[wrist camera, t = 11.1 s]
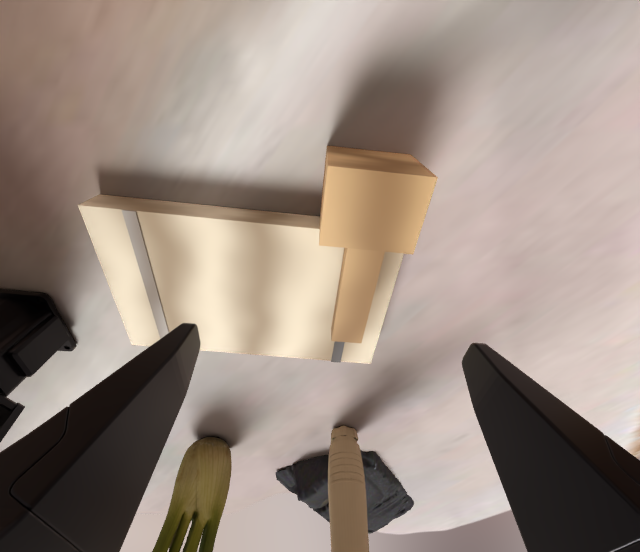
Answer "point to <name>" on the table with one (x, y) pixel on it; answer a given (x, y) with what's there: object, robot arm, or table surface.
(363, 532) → the handle
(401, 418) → the table surface
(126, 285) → the ash plank
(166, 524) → the fennel bulb
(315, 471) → the dark slate chunk
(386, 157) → the marking gauge
